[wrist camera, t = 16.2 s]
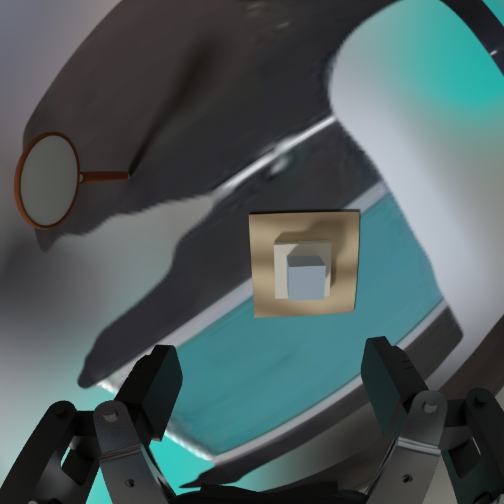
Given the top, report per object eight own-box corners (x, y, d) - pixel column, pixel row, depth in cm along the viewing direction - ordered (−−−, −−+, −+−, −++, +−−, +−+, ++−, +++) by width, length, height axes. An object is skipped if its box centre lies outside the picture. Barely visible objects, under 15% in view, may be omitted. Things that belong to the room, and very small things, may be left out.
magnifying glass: (126, 144, 32) (15, 129, 13) (137, 144, 32) (26, 126, 13) (121, 206, 34) (11, 238, 15) (131, 207, 34) (22, 240, 15)
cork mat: (249, 214, 34) (248, 214, 33) (358, 211, 33) (359, 211, 32) (254, 316, 37) (254, 317, 37) (352, 310, 36) (353, 311, 36)
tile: (273, 244, 32) (331, 242, 32) (273, 241, 34) (328, 239, 33) (275, 298, 34) (329, 296, 34) (275, 293, 36) (326, 291, 35)
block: (286, 256, 33) (288, 266, 29) (319, 255, 32) (325, 265, 29) (286, 287, 34) (288, 301, 30) (318, 286, 33) (324, 299, 30)
